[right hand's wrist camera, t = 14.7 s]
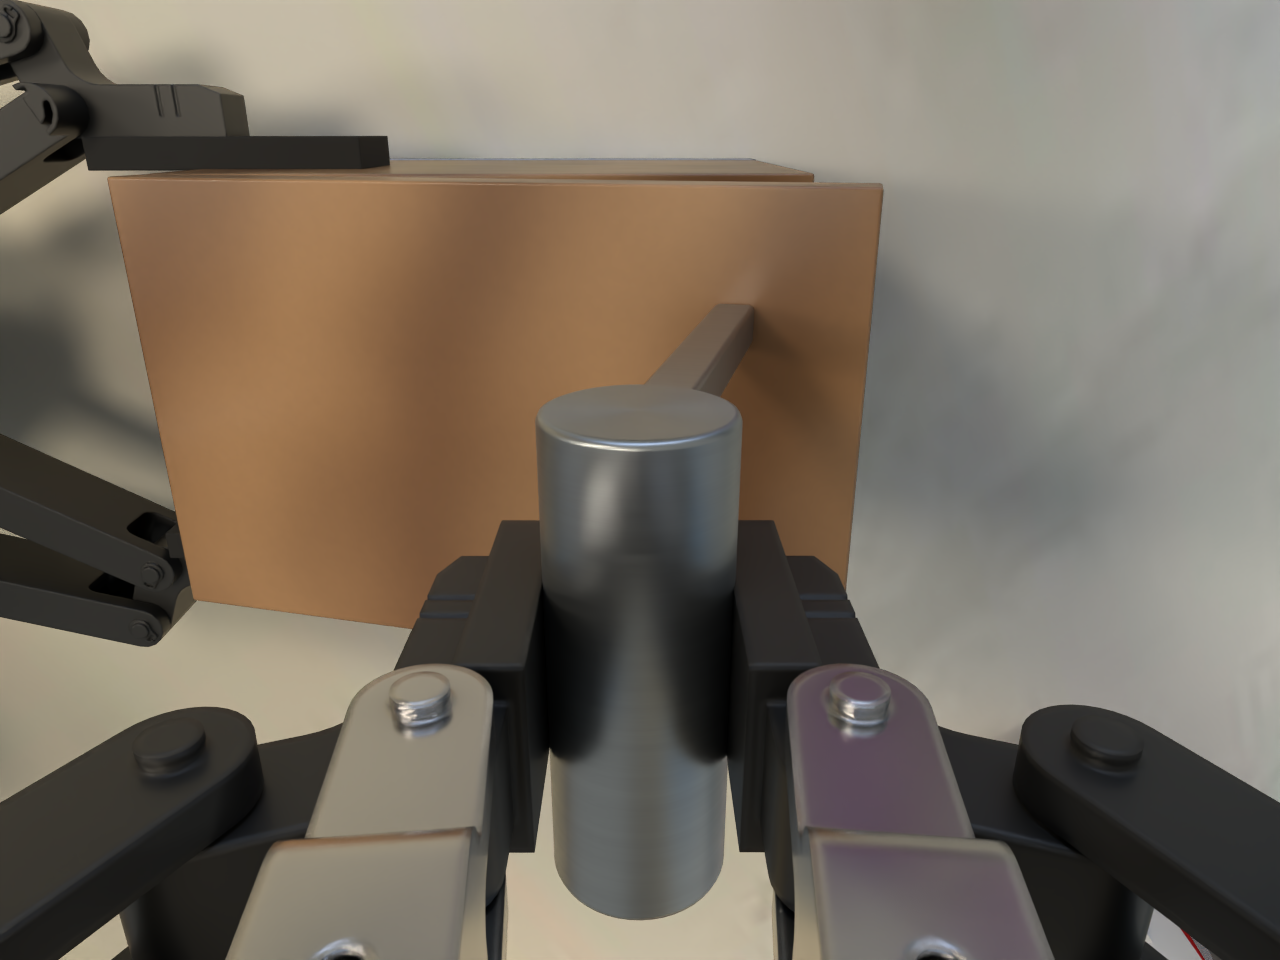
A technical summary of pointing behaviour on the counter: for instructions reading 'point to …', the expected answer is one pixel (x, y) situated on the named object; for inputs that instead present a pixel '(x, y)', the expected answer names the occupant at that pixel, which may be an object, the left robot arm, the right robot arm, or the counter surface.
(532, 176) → the chest
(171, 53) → the counter surface
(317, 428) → the lid
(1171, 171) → the counter surface
